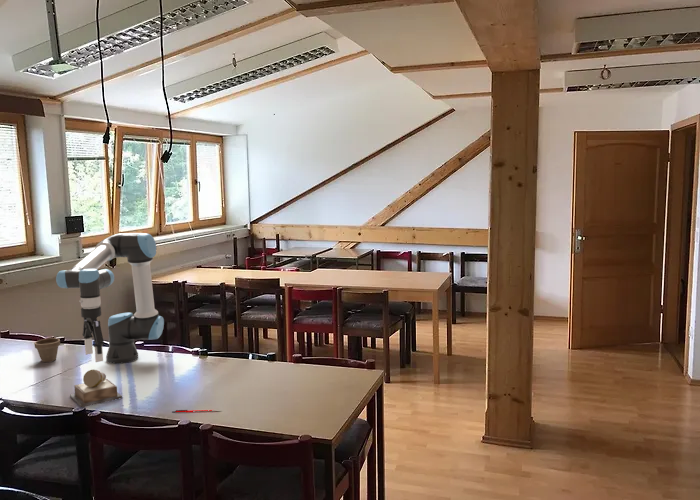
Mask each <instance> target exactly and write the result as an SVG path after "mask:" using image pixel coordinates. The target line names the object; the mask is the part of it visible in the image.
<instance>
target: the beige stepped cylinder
mask: <svg viewBox="0 0 700 500" xmlns="http://www.w3.org/2000/svg"><path fill="white" fill-rule="evenodd" d="M82 379H83V383H84V384H85V385H86V386H88V387H96V386H98V385H99V384H100V383H101V382H103V381H105V379H107V375H106V373H105V372H101V371H99V370H98V369H90V370H88V371H86V372H85V373H84V374H83V378H82Z"/></svg>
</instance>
